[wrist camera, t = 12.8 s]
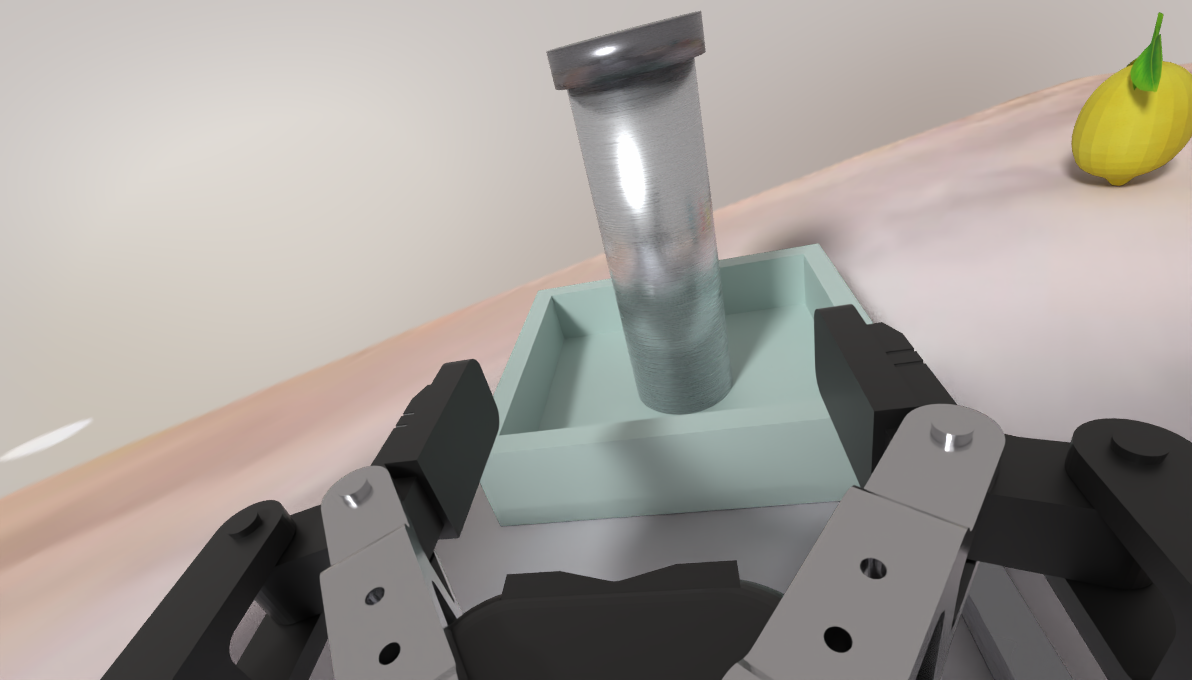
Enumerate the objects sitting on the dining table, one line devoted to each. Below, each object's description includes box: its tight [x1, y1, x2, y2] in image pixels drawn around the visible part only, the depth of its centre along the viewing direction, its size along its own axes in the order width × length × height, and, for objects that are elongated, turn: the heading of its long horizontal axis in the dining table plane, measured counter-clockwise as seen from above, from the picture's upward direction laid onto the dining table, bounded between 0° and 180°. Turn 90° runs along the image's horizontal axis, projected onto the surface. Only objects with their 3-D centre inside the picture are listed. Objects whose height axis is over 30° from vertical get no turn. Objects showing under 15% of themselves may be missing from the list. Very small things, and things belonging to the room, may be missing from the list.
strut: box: [547, 11, 733, 415], centre depth 22 cm, size 5×5×15 cm
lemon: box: [1071, 12, 1192, 186], centre depth 32 cm, size 7×6×10 cm
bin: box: [480, 243, 873, 526], centre depth 25 cm, size 16×14×4 cm
